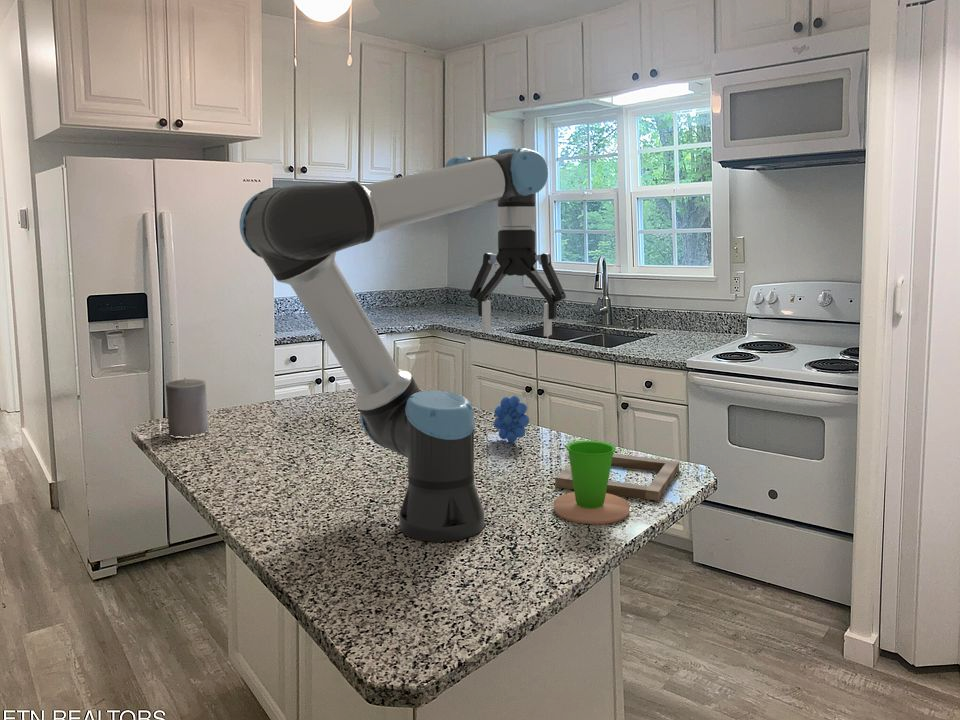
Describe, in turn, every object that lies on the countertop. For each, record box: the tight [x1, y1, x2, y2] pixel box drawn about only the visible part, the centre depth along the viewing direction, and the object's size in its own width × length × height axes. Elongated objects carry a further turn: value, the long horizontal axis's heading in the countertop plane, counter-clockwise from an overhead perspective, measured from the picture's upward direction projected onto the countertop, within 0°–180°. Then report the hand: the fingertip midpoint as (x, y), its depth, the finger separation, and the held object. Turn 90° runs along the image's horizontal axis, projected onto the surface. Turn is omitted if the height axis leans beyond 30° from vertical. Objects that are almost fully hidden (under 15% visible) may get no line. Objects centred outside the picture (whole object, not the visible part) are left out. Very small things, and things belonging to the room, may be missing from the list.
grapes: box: [493, 395, 530, 444], centre depth 188 cm, size 12×7×12 cm, turn 42°
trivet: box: [553, 491, 630, 525], centre depth 143 cm, size 14×14×1 cm
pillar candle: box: [165, 377, 209, 436], centre depth 197 cm, size 10×10×15 cm
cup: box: [565, 440, 616, 508], centre depth 142 cm, size 9×9×11 cm
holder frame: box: [554, 453, 680, 502], centre depth 161 cm, size 21×21×2 cm
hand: (516, 334), depth 157 cm, fingers open, 13 cm apart
